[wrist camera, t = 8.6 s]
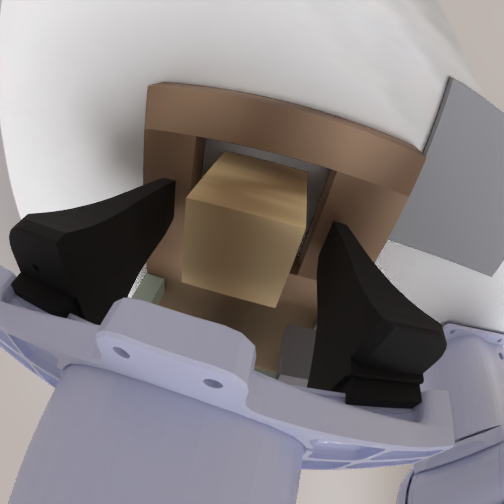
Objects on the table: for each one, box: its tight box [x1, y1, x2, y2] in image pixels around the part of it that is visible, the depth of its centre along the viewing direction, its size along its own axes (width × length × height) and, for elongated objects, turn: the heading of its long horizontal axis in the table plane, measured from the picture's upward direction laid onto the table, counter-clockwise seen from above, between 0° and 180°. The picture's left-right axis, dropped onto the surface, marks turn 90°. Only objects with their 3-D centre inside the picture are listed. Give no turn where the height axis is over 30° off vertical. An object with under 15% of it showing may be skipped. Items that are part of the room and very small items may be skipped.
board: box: [143, 82, 427, 372], centre depth 17 cm, size 12×20×2 cm, turn 170°
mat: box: [388, 78, 504, 277], centre depth 11 cm, size 9×9×1 cm
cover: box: [132, 273, 317, 387], centre depth 17 cm, size 12×9×5 cm
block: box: [182, 151, 308, 308], centre depth 12 cm, size 4×4×5 cm
